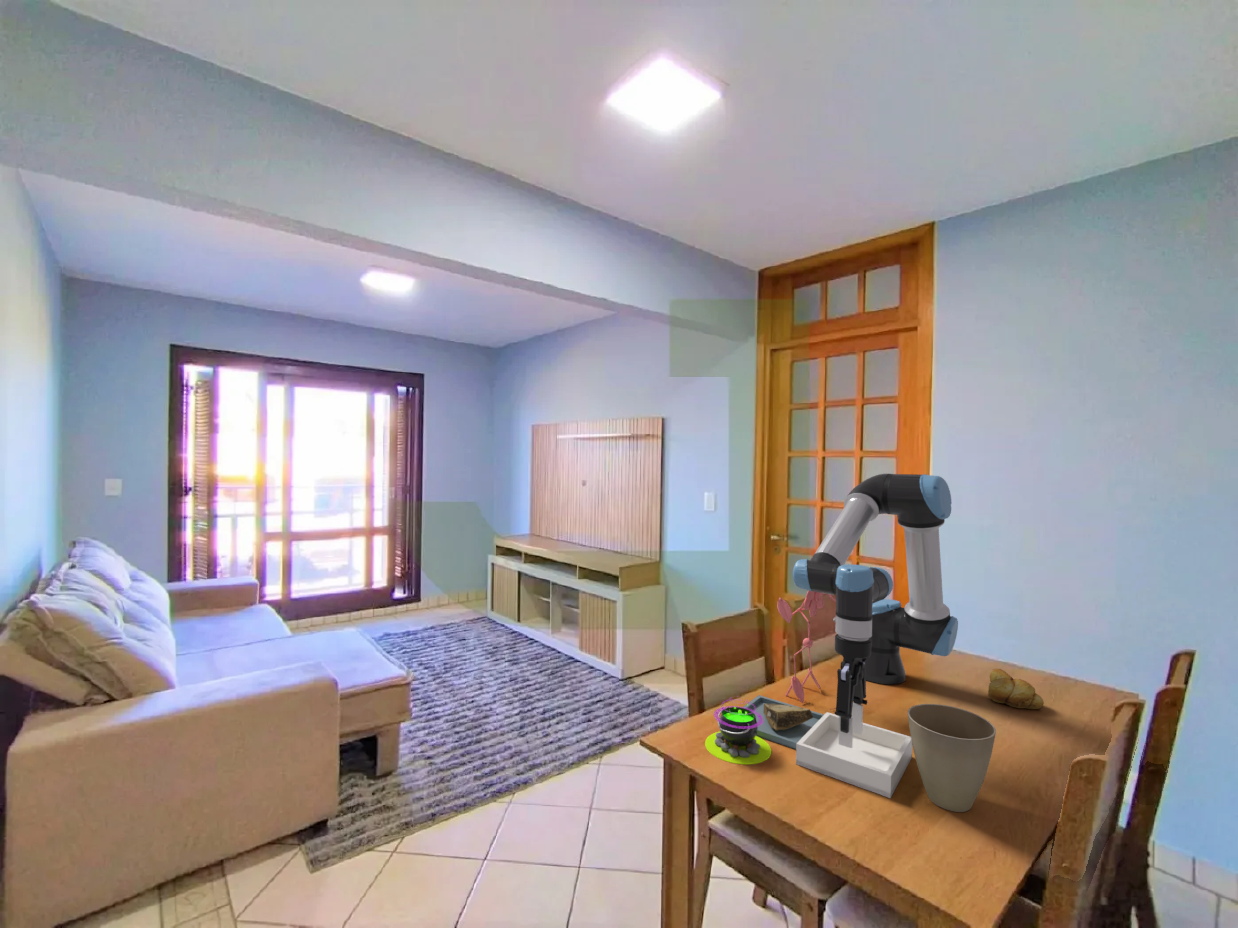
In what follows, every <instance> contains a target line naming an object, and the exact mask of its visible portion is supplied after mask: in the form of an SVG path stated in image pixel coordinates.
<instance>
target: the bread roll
mask: <svg viewBox="0 0 1238 928" xmlns="http://www.w3.org/2000/svg"><path fill="white" fill-rule="evenodd" d="M989 681H990V683H989V684H988V693H987V696H988V697H989V698H990V700H992V701H993V702H995V703H998V704H1005V705H1007V706H1009V707H1011V708H1017V709H1028V710H1039V709H1041V708H1043V706H1044V704H1045V701H1044V699H1043V698H1042V697H1041V695H1039V694H1038V693H1037V692H1036V689H1035V687H1034V686H1033V685H1032V684H1031V683H1029V682H1028V681H1026V680H1024V679H1021V678H1013V677H1012V676H1011V675H1010V674H1009V673H1007V672H1006V671H1005V670H1003V669H1002V668H993V669H992V670H991V672H990V674H989Z"/></svg>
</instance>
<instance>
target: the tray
mask: <svg viewBox="0 0 1238 928" xmlns="http://www.w3.org/2000/svg"><path fill="white" fill-rule="evenodd" d="M749 702H750V703H752V704H753V705H752V704H750V703H745V705H744V706H741V707H742V708H743V707H746V708H747V709H749V710H755V711H756V712H757V713H758V714H759V713H760V714H759V715H760V716H761V717H762V716H763V718H764V719H763V718H762V722H763V721H764V722H763V724H762V725H760V726H759V725H758V728H757V734H756V736H758V737H760V738H761V739H763V740H765V741H770V742H772V743H775V744H778V745H782V746H784V747H787V748H790V749H793V750H795V751H796V743H797V742H798V741H799V740H800V739H801V738H802V737H803V736H804V735H805V734H806V733H807V732H808V731H809V730H810V729H811V728H812V727H813V726H814V725H815V724H816V723H817V722H818V721H819V720H820V719H821V718H822V716H823V715H824V714H825V713H820V712H818V711H814V710H811V709H810V711H811V713H812V715H813V718H812V719H810V720H808V721H806V722H804V723H801V724H799V725H795V726H793V727H791V728H788V729H785V730H777V731H775V729H774V728H771V727H770V725H769V723H768V720H767V719H766V715H764V713H763V711H764V704H779V705H789V706H795V707H799V708H802V707H800V706H798V705H794V704H791V703H787V702H783V701H781V700H778V699H777V700H776V699H773V698H771V697H770V698H769V697H767V696H764V695H760V694H758V695H757V696H756V697H754V698H753V699H752V700H750V701H749ZM747 704H748V706H747ZM754 706H755V707H756V708H755V707H754ZM753 713H754V712H753ZM757 713H756V714H757ZM754 714H755V713H754ZM756 714H755V717H756V721H757V723H758V724H759V722H758V721H759V720H761V719H759V718H758V716H759V715H758V714H757V715H758V716H757V715H756ZM760 723H761V721H760Z"/></svg>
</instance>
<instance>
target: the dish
mask: <svg viewBox="0 0 1238 928" xmlns="http://www.w3.org/2000/svg"><path fill="white" fill-rule="evenodd" d="M823 714H824V715H823V716H822V718H821V719H820V720H819V721H818V722H817V723H816V724H815V725H814V726H813V727H812V728H811V729H810V730H809V731H808V732H807V733H806V734H805V735H804V736H803V737H802V738H801V739H800V740H799V741H798V742H797V743H796V750H795V751H796V752H795V765H797V766H800V767H802V768H805V769H808V770H811V771H813V772H816V773H819V774H822V775H824V776H827V777H831V778H833V779H836V780H839V781H842V782H845V783H847V784H850V785H851V786H855V787H857V788H858V787H859V788H861V789H863V790H866V791H869V792H871V793H872V792H873V793H875V794H877V795H880V796H883V797H886V798H888V799H892V796H893V794H894V793H895V791H896V789H897V786H898V785H899V783H900V781H901V780H902V777H903V775H904V773H905V772H906V770H907V767H908V766H909V764H910V763H911V762H910V761H911V760H912V758H913V745H912V740H911V735H910V736H909V735H906V734H903V733H899V732H897V731H893V730H889V729H886V728H883V727H879V726H875V725H871V724H869V723H865V722H863V727H862V735H860V734H857V733H853V742H852V748H849V747H846V746H843V745H840V744H838V742H839V716H837V715H836V714H835V713H831V712H828V711H826V712H825V713H823Z"/></svg>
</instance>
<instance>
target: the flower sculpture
mask: <svg viewBox="0 0 1238 928" xmlns="http://www.w3.org/2000/svg"><path fill="white" fill-rule="evenodd" d="M823 595H824V593H819V592H813V591H812V592H811V591H808V590H807V592H806V595H805V599H804V601H803V602H802V604H801V605H800V607H798V608H797V609H796V610H795V611H794V612H793V610H792V608H791V606H790V604H789V603H788V602H787V601H786V600H784V599H783V598H782V597H779V598H778V600H777V604H776V605H777V607H776V608H777V611H778V613H779V615H780V617H782V619H783V620H785V622H786V623H787V624H791V621H792V620H793V619H792V617H793V616H794V615H795V614H797V613H798V612H799V613H800V614H801V615H802V616H803V617H802V618H804V620H805V621H806V623H807V634H808V635H807V636H808V637H805V638H804V639H803V640H802V646H803V647H802V648H800V650H798V651H797V652H796V653H794V654H793V667H794V668H793V669H794V676H792V677H791V678H790V679H791V681H790V682H791V684H790V686H789V688H788V690H787V692H786V693H785V697H788V696H789V694H790V692H791V690H793V692H794V695H795V696H796V697H797V699H798V700H799V701H800V702H801V704H804V701H805V691H804V685H805V684H806V682H807V680H808V678H809V677H811V678H812V680H813V682H814V683H815V684H816V686H817V687H818V689H819V690H822V688H821V686H820V684H819V682H818V680H817V678H816V677H815V675H814V674H813V670H812V661H811V660H812V659H811V658H812V657H811V647H813V644H814V642H813V640H812V639H811V622H810V621H809V619H808V617H807V616H806V615H805V614H804V612H803V611H807V610H808V612H809V617H810V618H813V617H814V616H816V615H817V612H818V609H819V610H820V609H822V608H823V607H824V601H823ZM826 595H827V596H828V597H829V598H830V599H831V600H832V601H833V602H835V603H836V598H835V597H833V595H831V594H826ZM805 648H806V649H807V650H808V658H809V668H807V670H808V672H807V674H806V675H805V678H804V679H803V682H802V683H801V681H800V680H799V677H797V669H796V656H797V655H798V654H799V653H800V652H802V651H803V650H805ZM829 710H830V711H831V710H832V708H829ZM833 710H836V707H834V708H833Z"/></svg>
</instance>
